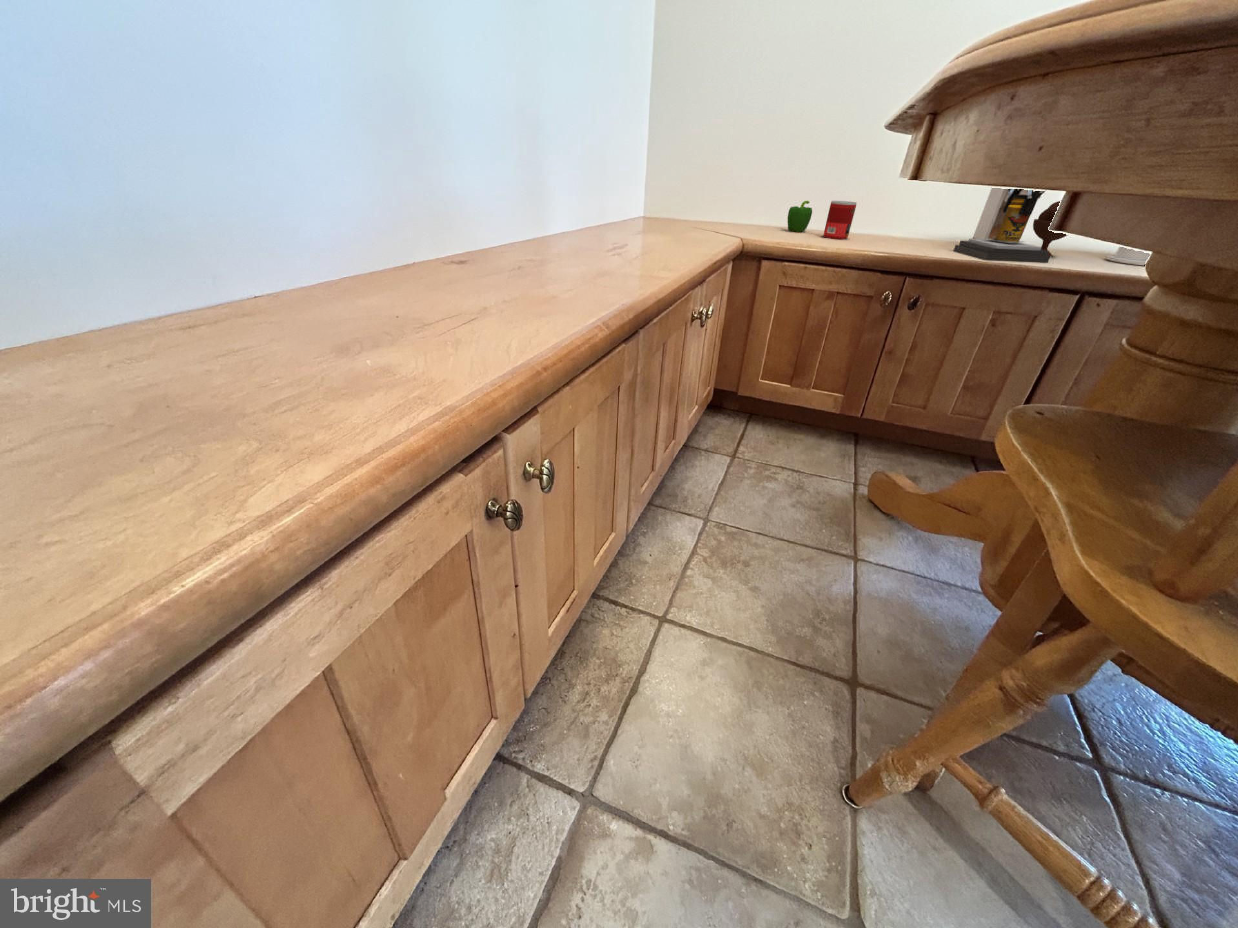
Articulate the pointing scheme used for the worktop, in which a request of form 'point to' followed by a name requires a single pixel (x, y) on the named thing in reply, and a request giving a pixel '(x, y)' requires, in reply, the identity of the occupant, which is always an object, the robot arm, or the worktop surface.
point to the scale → (1001, 253)
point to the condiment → (1012, 222)
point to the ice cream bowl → (1046, 227)
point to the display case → (993, 214)
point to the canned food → (839, 219)
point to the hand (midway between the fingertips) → (1016, 213)
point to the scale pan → (1004, 244)
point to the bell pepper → (799, 217)
